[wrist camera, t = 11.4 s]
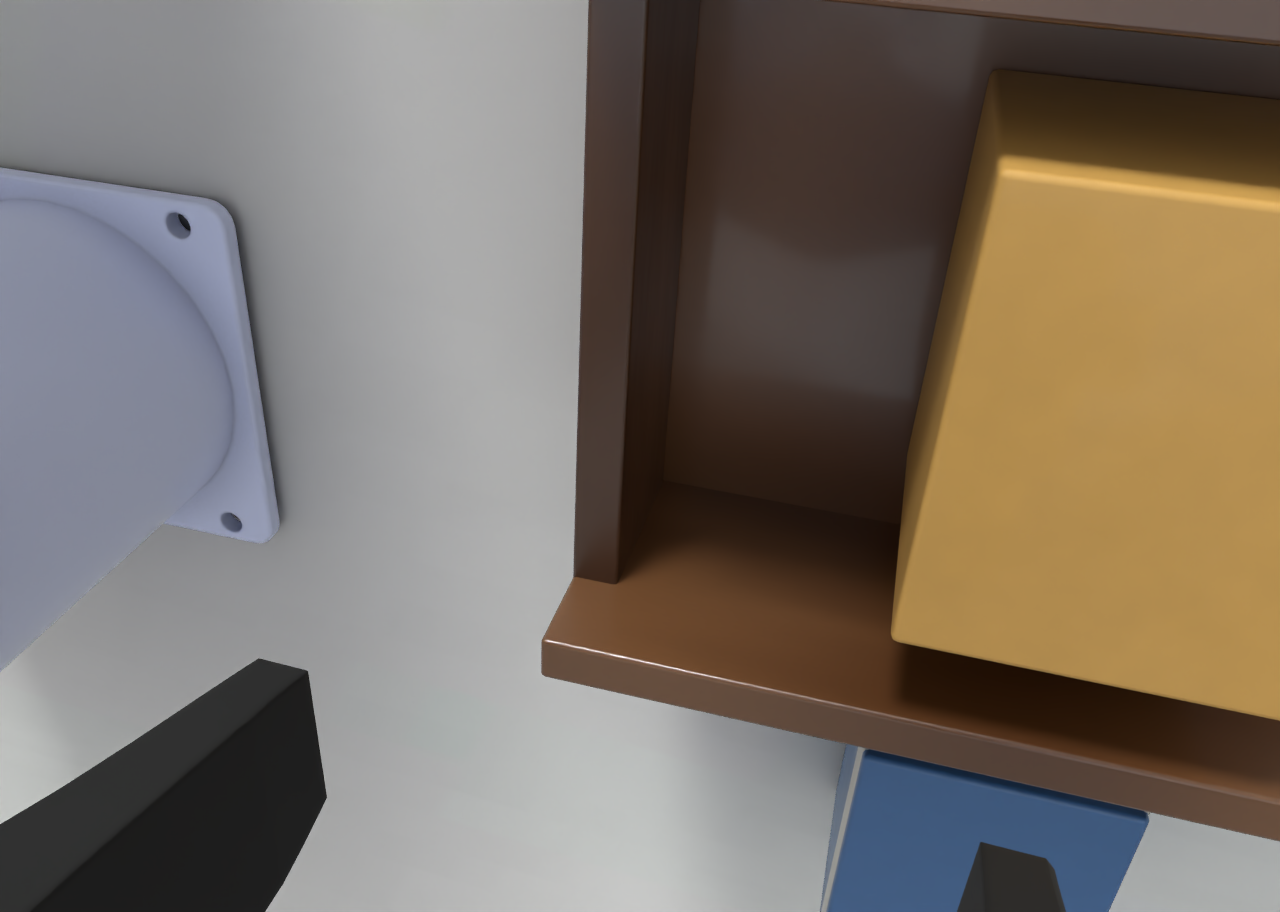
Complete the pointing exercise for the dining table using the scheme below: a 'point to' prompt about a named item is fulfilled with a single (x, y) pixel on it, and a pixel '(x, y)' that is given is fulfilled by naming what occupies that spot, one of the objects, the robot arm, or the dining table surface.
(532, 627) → the dining table surface
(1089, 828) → the blue book
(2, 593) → the robot arm
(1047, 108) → the ochre carton
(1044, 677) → the shelf
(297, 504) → the dining table surface
